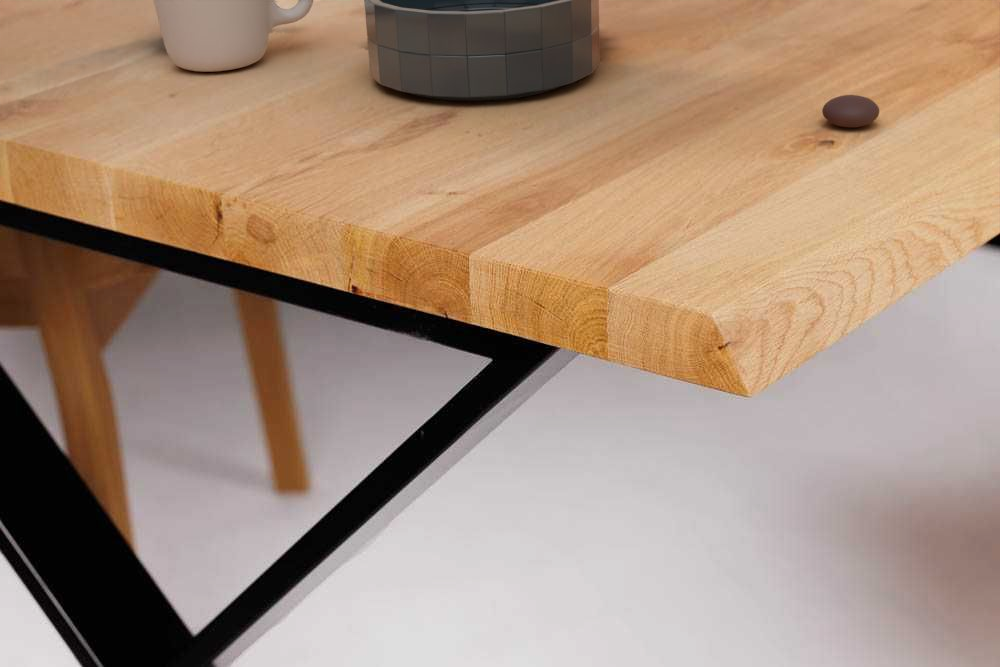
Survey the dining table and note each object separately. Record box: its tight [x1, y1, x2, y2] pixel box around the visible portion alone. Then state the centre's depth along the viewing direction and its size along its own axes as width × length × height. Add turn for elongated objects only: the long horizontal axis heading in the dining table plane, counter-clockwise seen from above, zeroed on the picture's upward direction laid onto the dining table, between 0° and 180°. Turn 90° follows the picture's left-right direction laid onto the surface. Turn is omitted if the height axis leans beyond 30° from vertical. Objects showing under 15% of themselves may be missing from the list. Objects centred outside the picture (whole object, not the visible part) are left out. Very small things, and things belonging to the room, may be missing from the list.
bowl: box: [363, 0, 601, 102], centre depth 89 cm, size 14×14×6 cm
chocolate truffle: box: [821, 94, 880, 128], centre depth 78 cm, size 3×3×2 cm
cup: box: [153, 0, 314, 73], centre depth 95 cm, size 11×8×8 cm
